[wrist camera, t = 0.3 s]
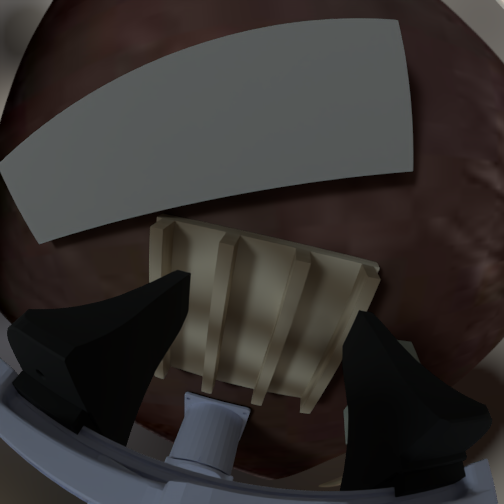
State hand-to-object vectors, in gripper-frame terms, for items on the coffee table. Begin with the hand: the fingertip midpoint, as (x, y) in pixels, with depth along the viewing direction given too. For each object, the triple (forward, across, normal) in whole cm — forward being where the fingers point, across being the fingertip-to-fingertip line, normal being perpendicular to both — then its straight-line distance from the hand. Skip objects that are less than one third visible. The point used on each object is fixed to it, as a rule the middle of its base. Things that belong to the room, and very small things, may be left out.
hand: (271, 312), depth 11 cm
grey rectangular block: (+10, +10, -6) cm, 16 cm away
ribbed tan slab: (+10, +1, +8) cm, 13 cm away
